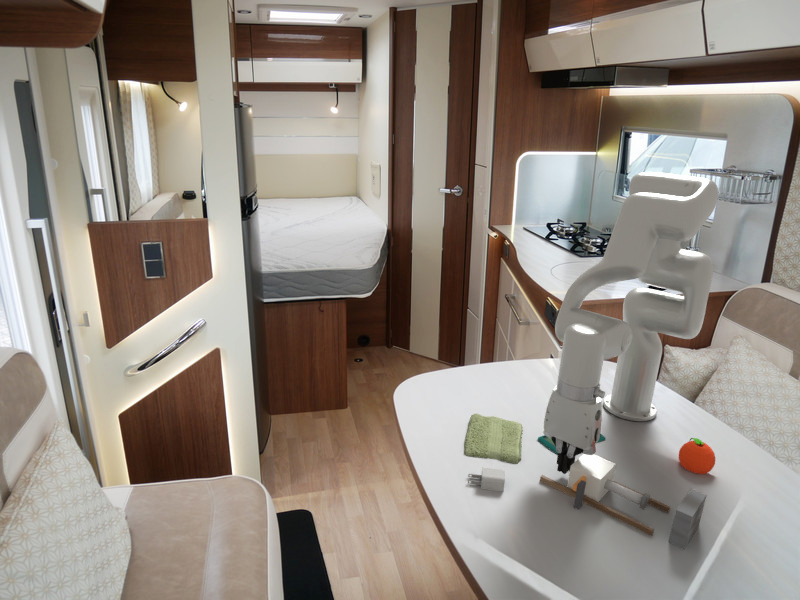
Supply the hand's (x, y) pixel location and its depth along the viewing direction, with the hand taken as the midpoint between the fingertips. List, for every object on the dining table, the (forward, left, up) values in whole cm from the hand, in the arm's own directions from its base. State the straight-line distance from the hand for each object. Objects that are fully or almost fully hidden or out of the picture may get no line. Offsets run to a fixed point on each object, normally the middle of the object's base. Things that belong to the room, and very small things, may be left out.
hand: (564, 469), depth 118 cm
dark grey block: (+7, +6, -2) cm, 9 cm away
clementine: (-24, +18, -3) cm, 30 cm away
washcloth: (-2, -18, -4) cm, 18 cm away
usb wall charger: (+13, -10, -3) cm, 17 cm away
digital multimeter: (-14, -5, -4) cm, 15 cm away
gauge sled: (+2, +9, -2) cm, 10 cm away
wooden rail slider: (+1, +10, -3) cm, 10 cm away
